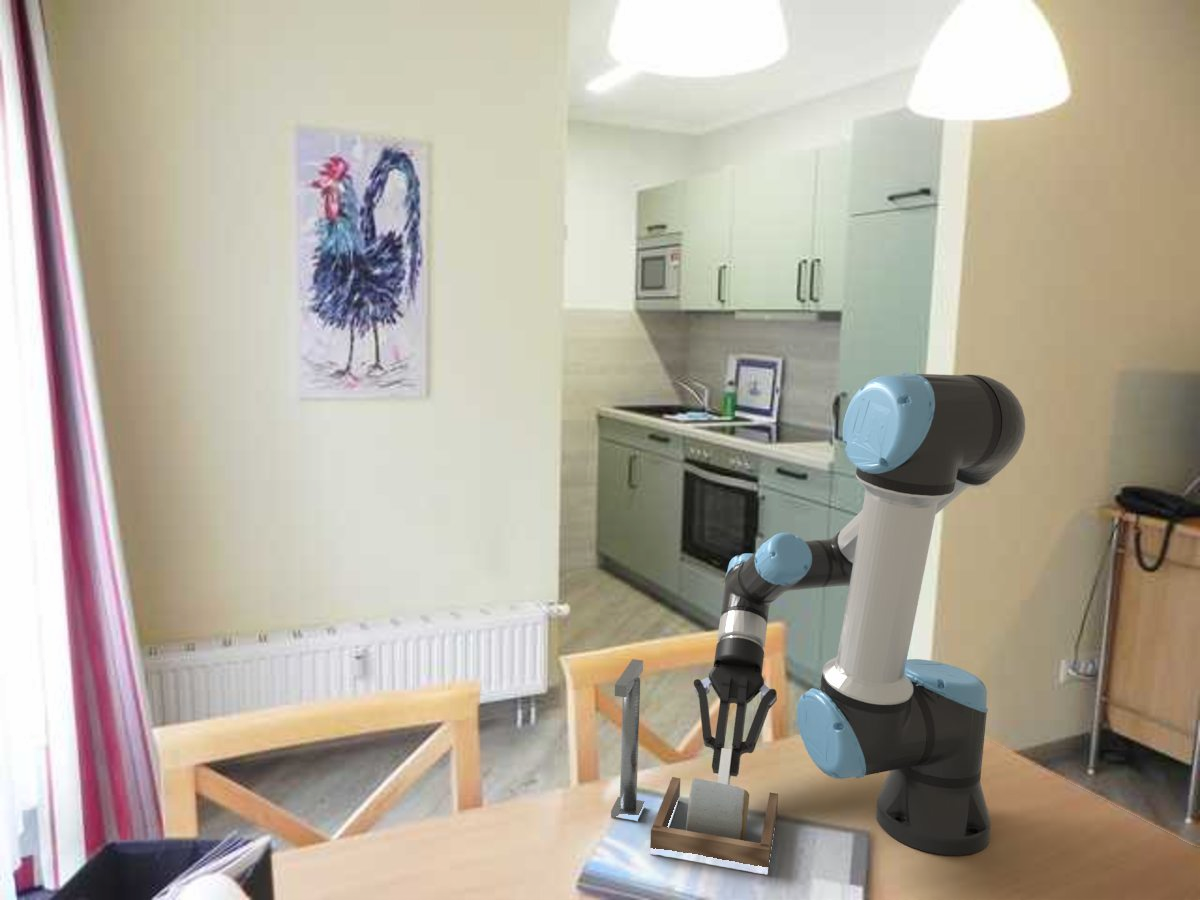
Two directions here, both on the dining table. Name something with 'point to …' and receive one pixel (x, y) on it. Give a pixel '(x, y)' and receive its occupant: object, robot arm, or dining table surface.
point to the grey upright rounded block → (717, 809)
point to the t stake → (629, 739)
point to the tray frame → (711, 843)
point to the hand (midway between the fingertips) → (721, 796)
